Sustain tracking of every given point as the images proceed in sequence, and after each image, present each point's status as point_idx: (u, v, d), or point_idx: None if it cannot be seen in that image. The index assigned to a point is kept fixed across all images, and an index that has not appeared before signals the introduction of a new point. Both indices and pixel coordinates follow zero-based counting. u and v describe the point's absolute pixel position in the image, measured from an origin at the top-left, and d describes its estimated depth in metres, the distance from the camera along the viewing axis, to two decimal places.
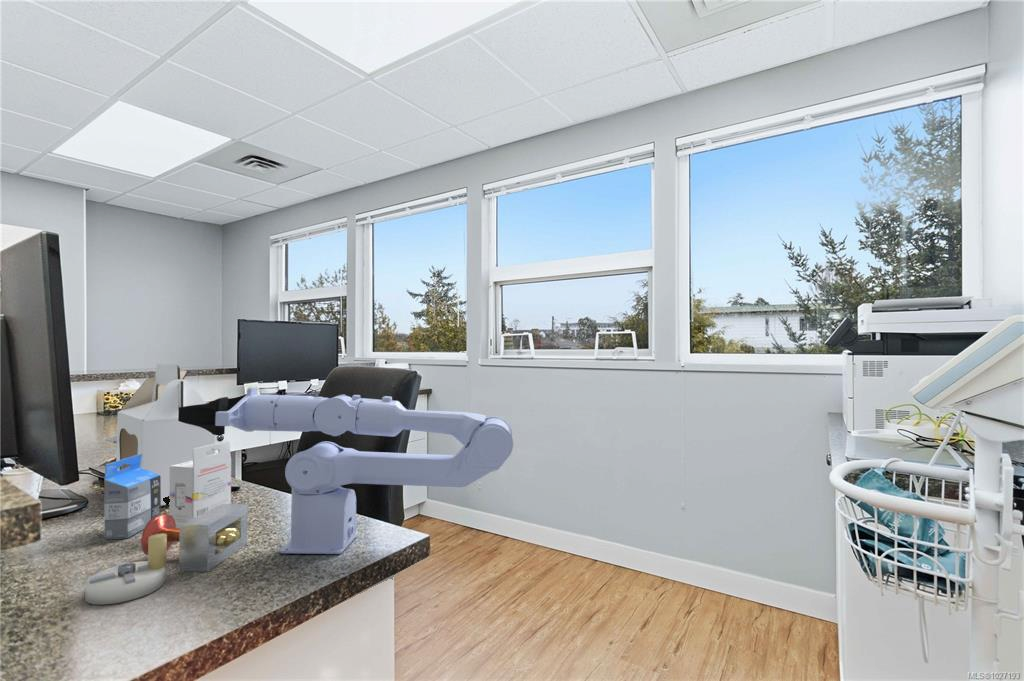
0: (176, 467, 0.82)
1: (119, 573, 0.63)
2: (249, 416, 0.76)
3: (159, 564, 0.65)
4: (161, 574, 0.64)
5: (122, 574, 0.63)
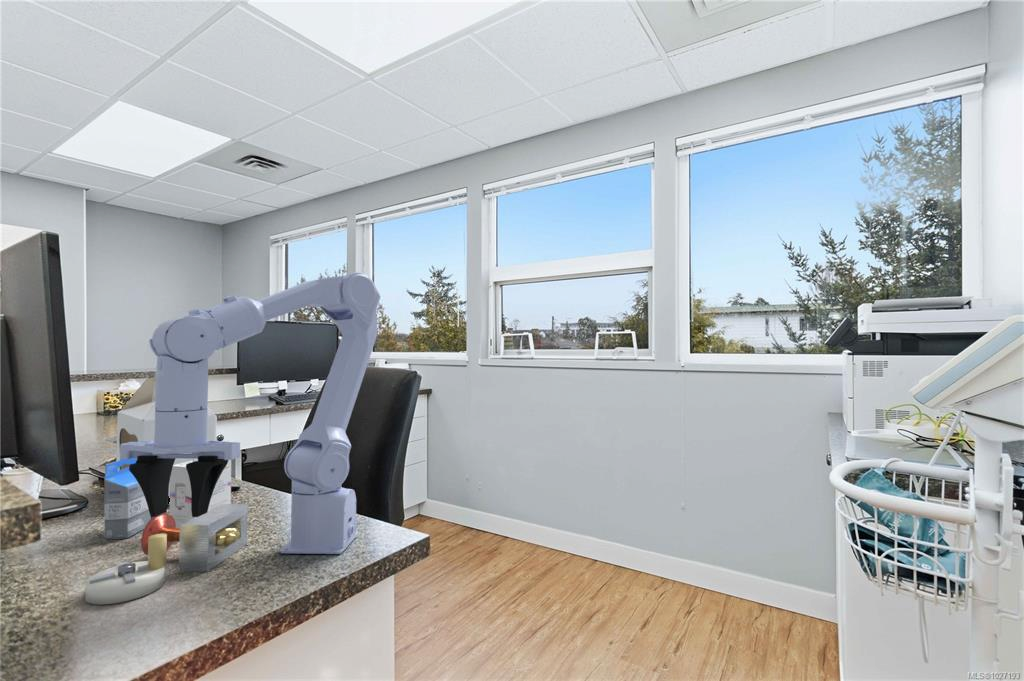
0: (176, 467, 0.82)
1: (119, 573, 0.63)
2: (203, 437, 0.65)
3: (159, 564, 0.65)
4: (161, 574, 0.64)
5: (122, 574, 0.63)
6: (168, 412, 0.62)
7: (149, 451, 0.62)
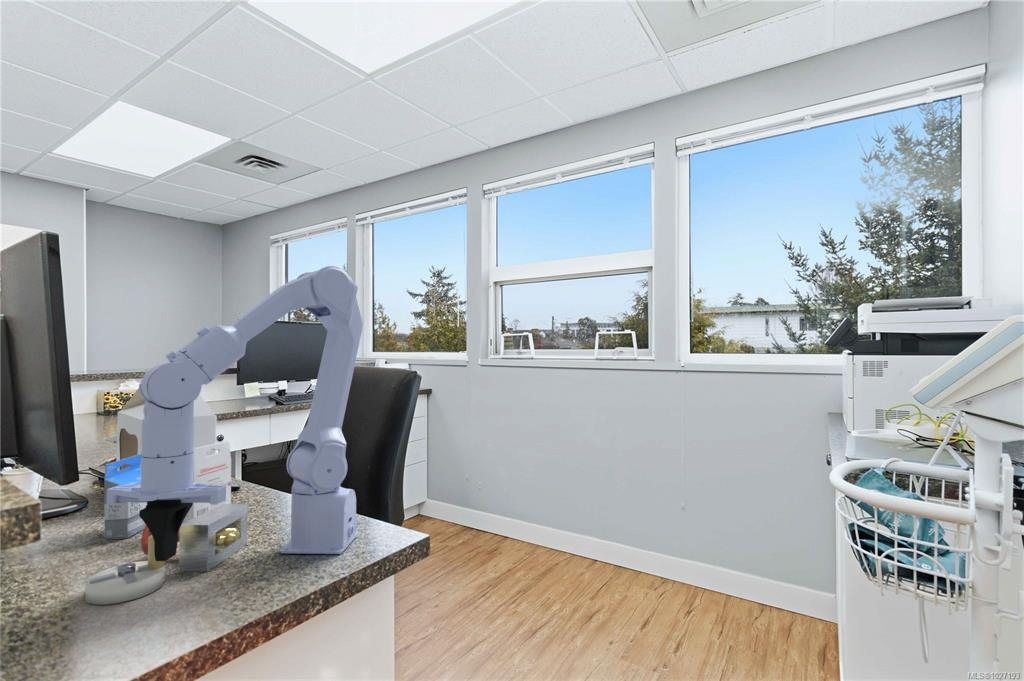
0: None
1: (119, 573, 0.63)
2: (189, 481, 0.66)
3: (159, 564, 0.65)
4: (161, 574, 0.64)
5: (122, 574, 0.63)
6: (154, 458, 0.63)
7: (135, 497, 0.63)
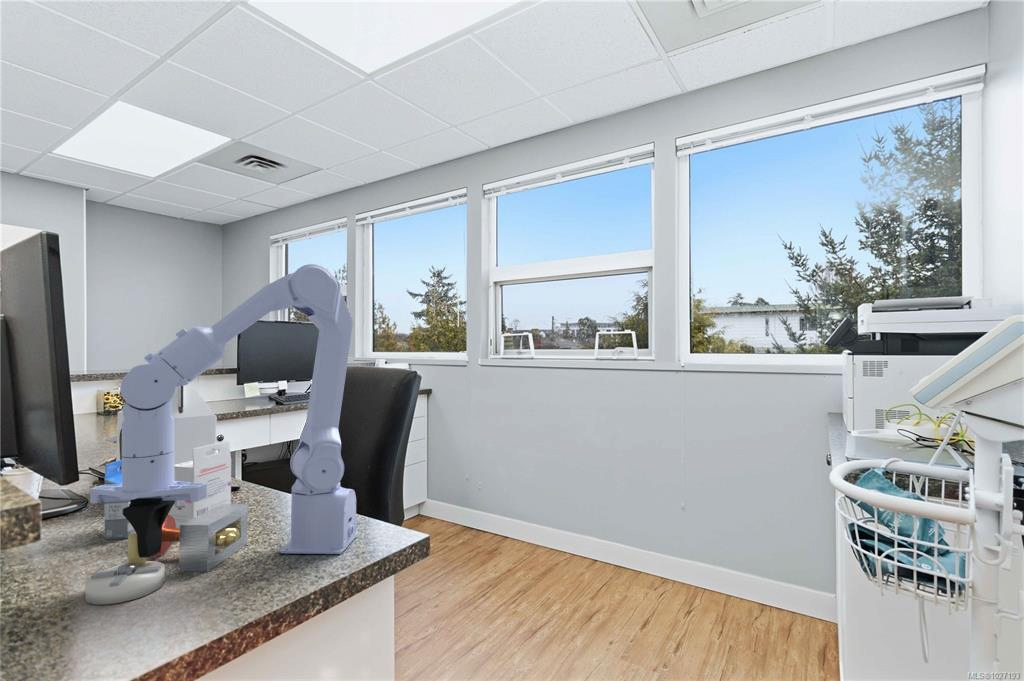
0: (176, 467, 0.82)
1: (119, 573, 0.63)
2: (170, 479, 0.67)
3: (145, 558, 0.67)
4: None
5: (122, 574, 0.63)
6: (134, 458, 0.64)
7: (117, 496, 0.65)
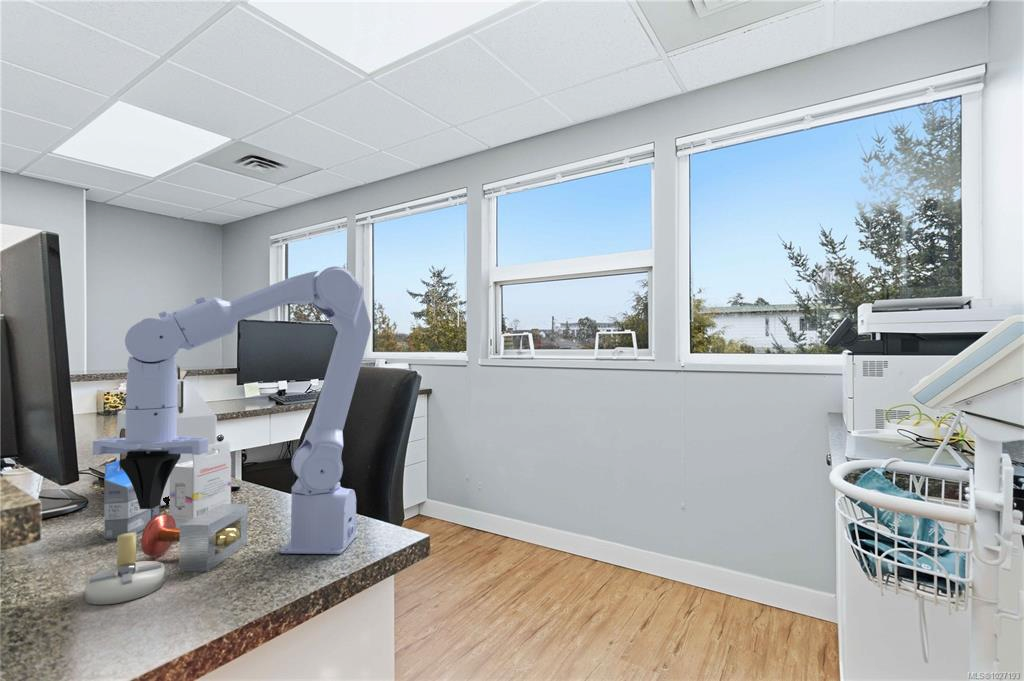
0: (176, 467, 0.82)
1: (119, 573, 0.63)
2: (173, 433, 0.68)
3: (135, 559, 0.67)
4: None
5: (122, 574, 0.63)
6: (138, 410, 0.65)
7: (120, 447, 0.66)
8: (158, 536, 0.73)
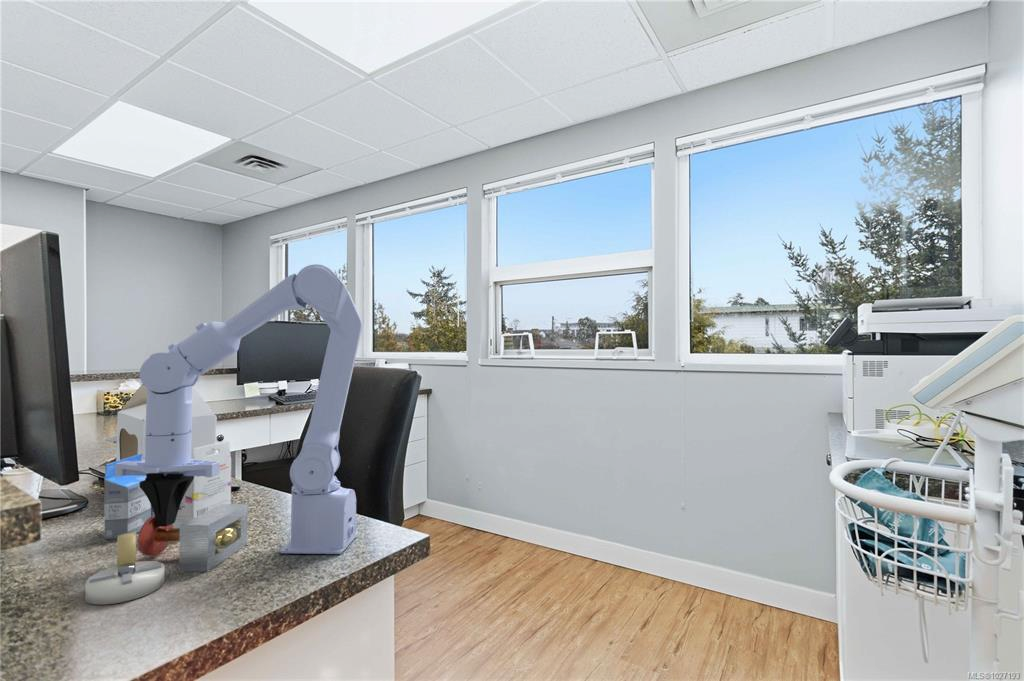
0: None
1: (119, 573, 0.63)
2: (187, 457, 0.75)
3: (135, 559, 0.67)
4: None
5: (122, 574, 0.63)
6: (156, 436, 0.72)
7: (140, 470, 0.72)
8: (155, 536, 0.73)
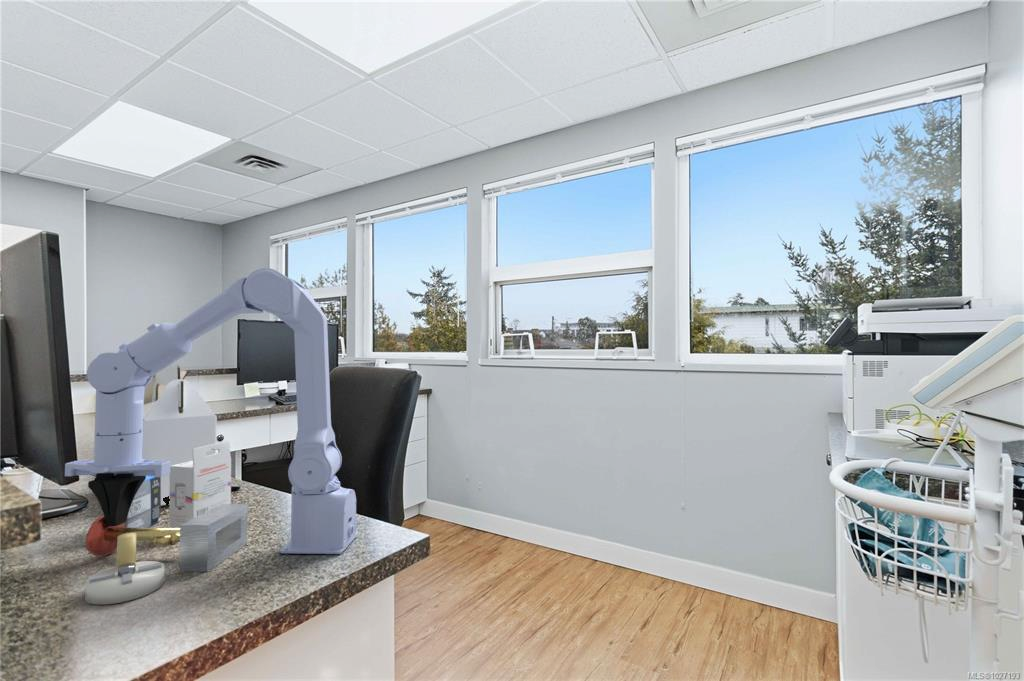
0: (176, 467, 0.82)
1: (119, 573, 0.63)
2: (138, 457, 0.75)
3: (135, 559, 0.67)
4: None
5: (122, 574, 0.63)
6: (105, 436, 0.72)
7: (89, 470, 0.72)
8: (104, 535, 0.73)
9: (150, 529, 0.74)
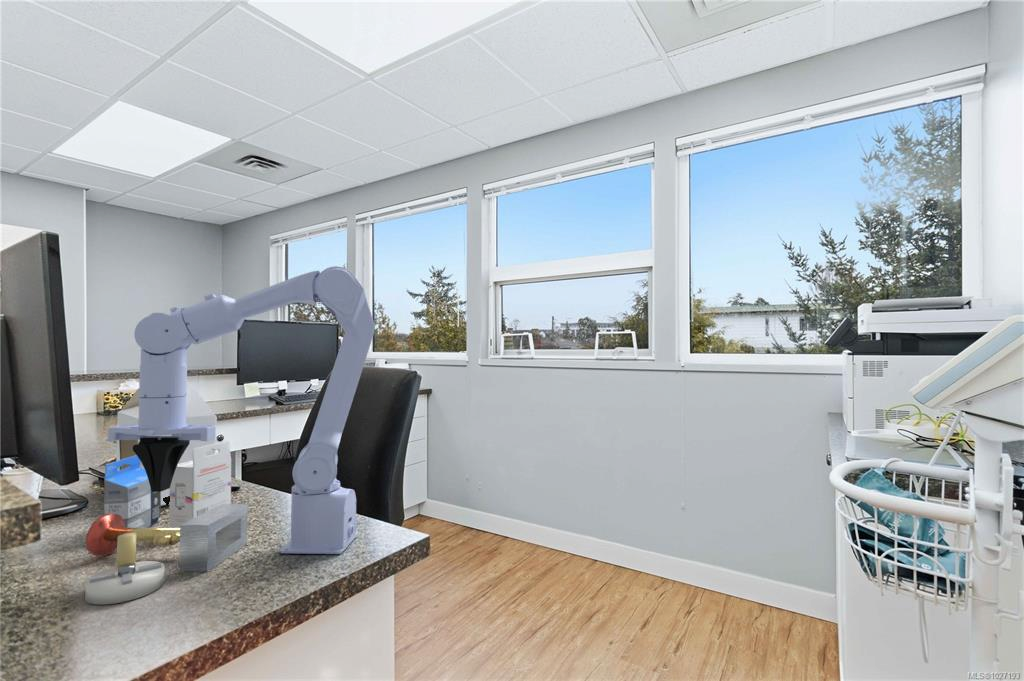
0: (176, 467, 0.82)
1: (119, 573, 0.63)
2: (182, 421, 0.73)
3: (135, 559, 0.67)
4: None
5: (122, 574, 0.63)
6: (150, 398, 0.70)
7: (133, 433, 0.70)
8: (104, 535, 0.73)
9: (150, 529, 0.74)
